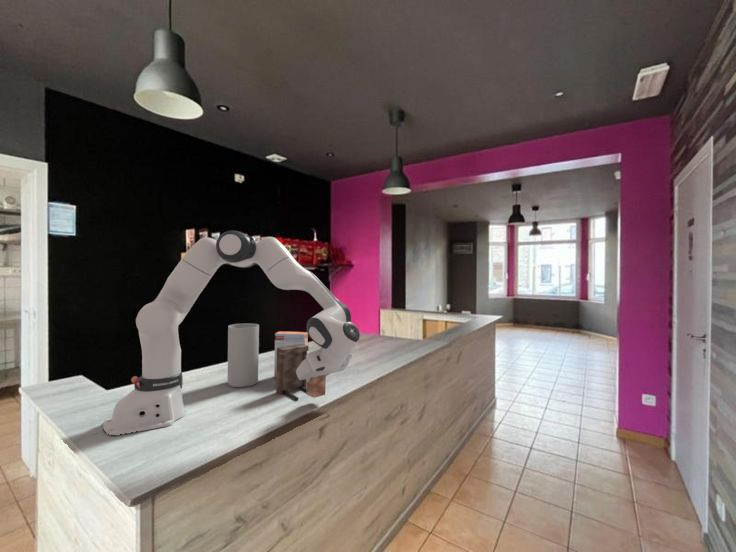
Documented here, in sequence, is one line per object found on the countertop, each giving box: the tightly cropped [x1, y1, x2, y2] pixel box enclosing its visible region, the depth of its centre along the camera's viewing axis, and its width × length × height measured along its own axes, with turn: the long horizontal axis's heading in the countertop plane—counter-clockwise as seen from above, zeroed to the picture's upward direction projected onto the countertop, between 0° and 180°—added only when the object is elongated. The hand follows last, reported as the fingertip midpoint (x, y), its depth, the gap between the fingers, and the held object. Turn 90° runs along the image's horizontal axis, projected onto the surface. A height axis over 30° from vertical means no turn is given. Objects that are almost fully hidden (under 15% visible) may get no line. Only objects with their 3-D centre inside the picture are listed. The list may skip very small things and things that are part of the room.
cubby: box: [275, 344, 309, 401], centre depth 138 cm, size 12×13×18 cm
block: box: [306, 375, 327, 399], centre depth 128 cm, size 5×5×10 cm
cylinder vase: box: [227, 323, 260, 388], centre depth 149 cm, size 12×12×25 cm
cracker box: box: [274, 330, 309, 380], centre depth 158 cm, size 14×6×21 cm, turn 84°
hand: (315, 378), depth 128 cm, fingers closed on block, 5 cm apart
